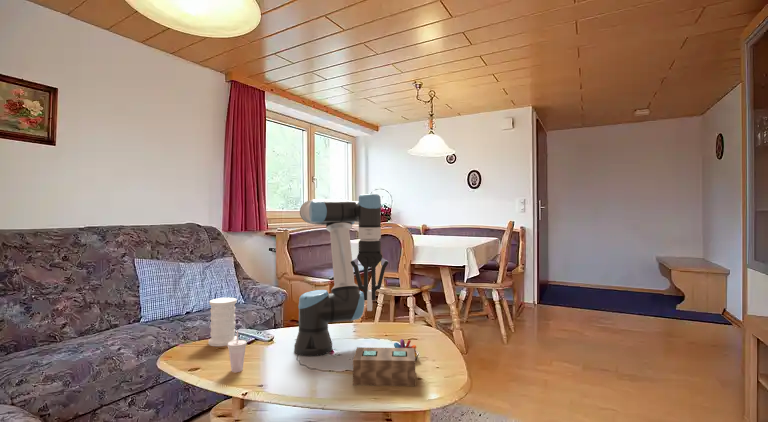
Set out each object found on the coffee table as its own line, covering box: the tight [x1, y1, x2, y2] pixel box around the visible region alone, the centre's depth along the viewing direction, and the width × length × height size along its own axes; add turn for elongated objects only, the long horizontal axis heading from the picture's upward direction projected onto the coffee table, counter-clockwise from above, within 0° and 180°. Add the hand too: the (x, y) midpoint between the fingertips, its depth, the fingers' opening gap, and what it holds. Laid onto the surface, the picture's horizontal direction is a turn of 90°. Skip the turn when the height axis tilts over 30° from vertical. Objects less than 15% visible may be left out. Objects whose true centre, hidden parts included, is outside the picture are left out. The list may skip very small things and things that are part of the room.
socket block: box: [352, 347, 416, 387], centre depth 131 cm, size 20×12×8 cm, turn 88°
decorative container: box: [208, 297, 237, 347], centre depth 169 cm, size 12×12×18 cm
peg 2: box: [393, 351, 406, 357], centre depth 131 cm, size 4×4×8 cm
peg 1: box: [363, 351, 376, 356], centre depth 131 cm, size 4×4×8 cm
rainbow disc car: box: [393, 339, 418, 358], centre depth 149 cm, size 8×10×7 cm
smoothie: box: [227, 330, 248, 373], centre depth 138 cm, size 6×6×14 cm
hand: (369, 309), depth 132 cm, fingers closed
